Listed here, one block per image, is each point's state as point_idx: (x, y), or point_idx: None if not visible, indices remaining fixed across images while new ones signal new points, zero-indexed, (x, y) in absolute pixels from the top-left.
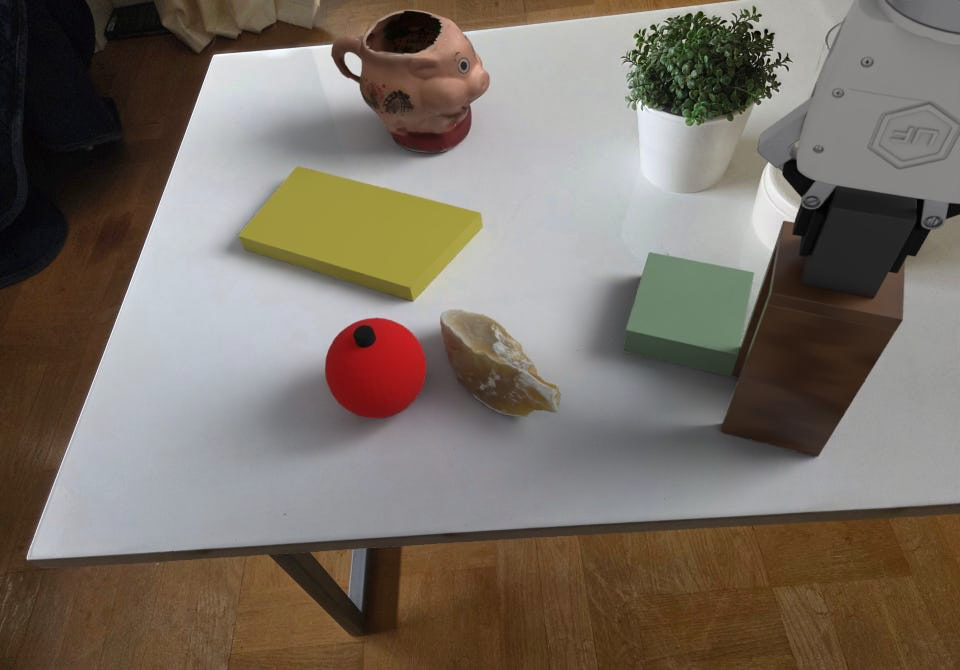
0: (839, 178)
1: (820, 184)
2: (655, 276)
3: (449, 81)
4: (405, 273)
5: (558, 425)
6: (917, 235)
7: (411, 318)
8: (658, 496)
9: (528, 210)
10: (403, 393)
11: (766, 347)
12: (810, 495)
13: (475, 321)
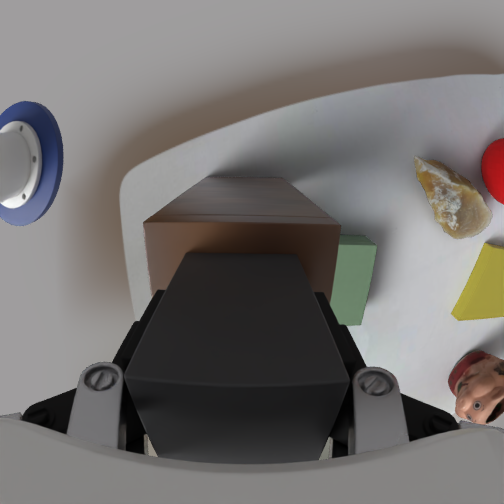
0: (427, 471)
1: (391, 427)
2: (356, 303)
3: (483, 393)
4: (494, 258)
5: (399, 158)
6: (127, 348)
7: (484, 229)
8: (321, 111)
9: (425, 336)
10: (499, 150)
11: (294, 198)
12: (208, 142)
13: (468, 226)
